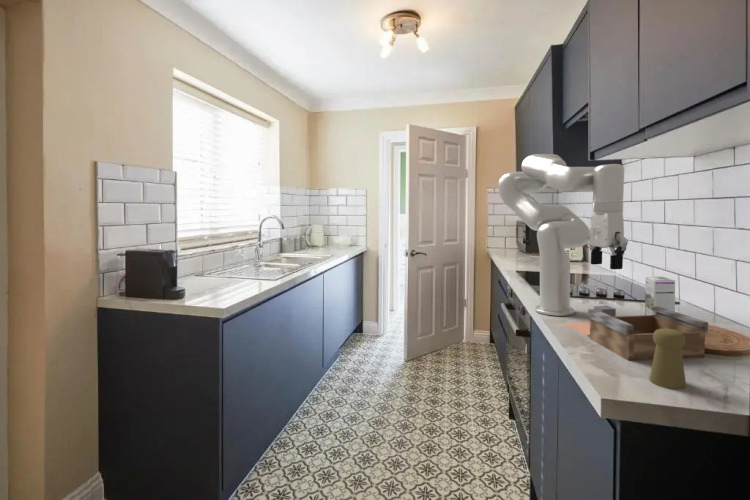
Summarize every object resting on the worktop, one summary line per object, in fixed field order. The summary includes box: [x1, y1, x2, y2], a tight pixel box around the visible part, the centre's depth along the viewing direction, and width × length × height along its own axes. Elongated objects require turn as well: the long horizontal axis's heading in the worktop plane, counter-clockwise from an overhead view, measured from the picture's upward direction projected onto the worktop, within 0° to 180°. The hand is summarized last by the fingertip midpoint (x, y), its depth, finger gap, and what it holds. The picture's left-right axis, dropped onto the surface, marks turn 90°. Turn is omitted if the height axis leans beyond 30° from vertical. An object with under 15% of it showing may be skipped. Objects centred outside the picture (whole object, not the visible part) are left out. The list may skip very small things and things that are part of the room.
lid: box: [564, 305, 616, 337], centre depth 115 cm, size 12×17×7 cm
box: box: [587, 306, 709, 361], centre depth 98 cm, size 16×19×8 cm
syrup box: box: [644, 276, 676, 315], centre depth 115 cm, size 6×6×14 cm
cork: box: [649, 329, 687, 390], centre depth 78 cm, size 6×6×11 cm
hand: (605, 266), depth 113 cm, fingers open, 9 cm apart
